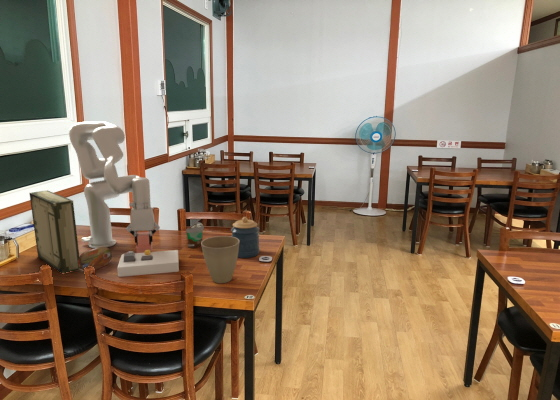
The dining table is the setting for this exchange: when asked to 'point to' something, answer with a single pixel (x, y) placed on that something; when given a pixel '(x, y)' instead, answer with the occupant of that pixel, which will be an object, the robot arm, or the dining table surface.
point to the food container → (194, 235)
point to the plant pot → (220, 257)
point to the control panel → (55, 230)
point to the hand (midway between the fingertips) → (143, 243)
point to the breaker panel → (149, 263)
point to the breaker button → (129, 257)
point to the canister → (246, 237)
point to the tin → (95, 258)
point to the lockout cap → (143, 242)
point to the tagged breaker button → (146, 257)
